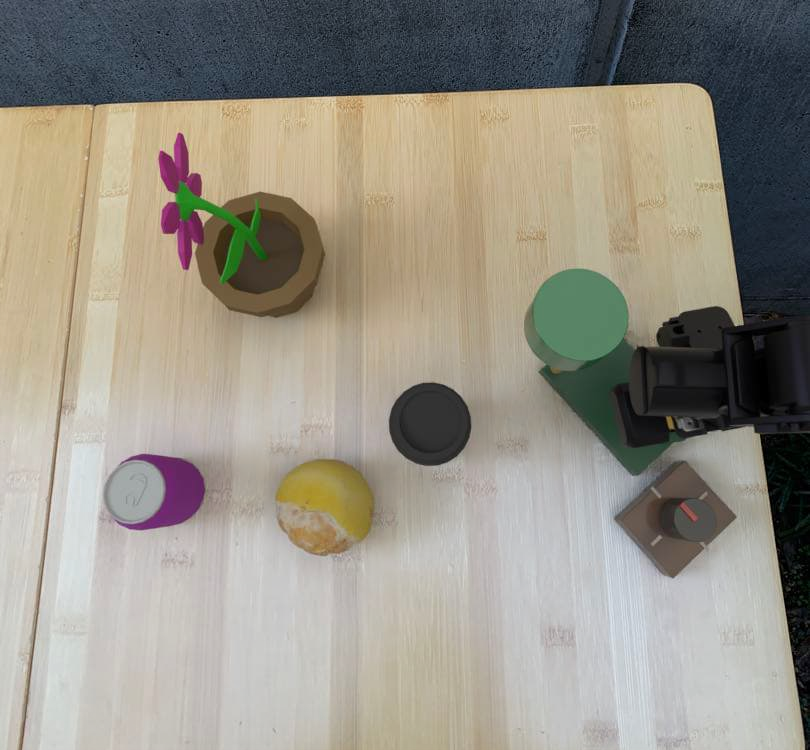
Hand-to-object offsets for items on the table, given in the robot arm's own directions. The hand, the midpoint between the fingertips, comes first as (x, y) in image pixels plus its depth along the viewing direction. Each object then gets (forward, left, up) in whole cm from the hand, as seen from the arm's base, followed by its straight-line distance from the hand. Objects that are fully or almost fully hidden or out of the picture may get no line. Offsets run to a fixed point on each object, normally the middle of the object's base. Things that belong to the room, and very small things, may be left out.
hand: (680, 410), depth 74 cm
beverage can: (+30, +49, -8) cm, 58 cm away
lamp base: (+5, +2, -7) cm, 9 cm away
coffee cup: (+16, +22, -8) cm, 28 cm away
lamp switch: (0, 0, -4) cm, 4 cm away
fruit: (+17, +36, -8) cm, 41 cm away
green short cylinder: (+14, +8, +14) cm, 21 cm away
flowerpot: (+43, +24, -8) cm, 50 cm away
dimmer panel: (-9, +7, -7) cm, 14 cm away
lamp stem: (+12, +6, -7) cm, 15 cm away
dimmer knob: (-9, +7, -4) cm, 12 cm away
